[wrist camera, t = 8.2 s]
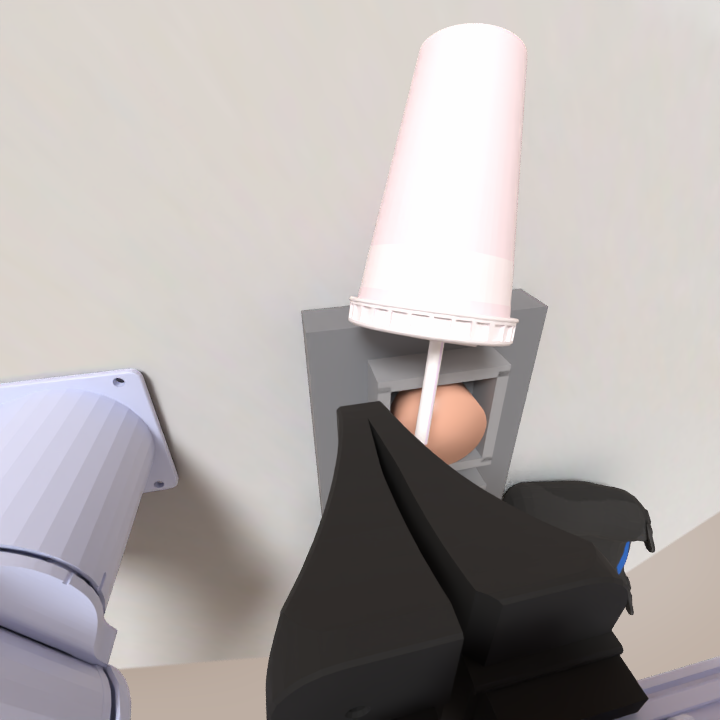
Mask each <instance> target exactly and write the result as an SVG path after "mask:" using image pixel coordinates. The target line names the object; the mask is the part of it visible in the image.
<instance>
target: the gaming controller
mask: <svg viewBox="0 0 720 720" xmlns="http://www.w3.org/2000/svg"><path fill="white" fill-rule="evenodd" d="M503 501H504V502H506V503H508V504H510V505H511V506H513V507H515V508H517V509H519V510H521V511H523V512H525V513H527V514H529V515H531V516H533V517H535V518H537V519H539V520H541V521H543V522H545V523H547V524H550V525H552V526H554V527H557V528H559V529H561V530H564V531H566V532H569V533H571V534H573V535H576V536H578V537H580V538H583V539H585V540H588V541H590V542H592V543H593V544H594V545H595V546H596V547H597V548H598V550H599V551H600V552H601V553H602V554H603V555H604V556H605V557H606V558H607V560H608V561H609V562H610V564H611V565H612V566H613V567H614V569H615V570H616V571H617V573H618V574H619V575H620V577H621V578H622V579H623V581H624V582H625V583H626V584H627V586H628V591H629V597H628V601H627V603H626V606H625V607H626V610H627V612H628V613H629V614H630V615H633V613H634V611H633V606H632V595H631V593H630V589H631V586H630V581H629V579H628V577H627V576H626V574H625V572H624V564H625V562H626V560H627V556H628V553H629V549H630V544H631V541H644V543H645V546H646V549H647V550H648V551H649V552H652V553H653V552H655V545H654V541H653V537H652V534H653V531H652V528H651V525H650V524H651V520H650V517H649V514H648V511H647V510H646V509H645V508H644V507H643V506H642V504H641V503H640V502H639V501H638V500H637V499H636V498H635V497H634V496H633V495H631V494H630V493H628V492H627V491H625V490H622V489H619V488H615V487H609V486H603V485H598V484H594V483H590V482H582V481H559V482H529V483H519V484H516V485H514V486H513V487H511V488H509V490H508V491H507V493H506V494H505V496H504V498H503Z"/></svg>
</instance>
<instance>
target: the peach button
mask: <svg viewBox="0 0 720 720" xmlns="http://www.w3.org/2000/svg"><path fill="white" fill-rule="evenodd" d="M421 392H422V388H417V389H410V390H402V391H400V392H399V393H398V394H397V395H396V397H395V398H394V400H393V402H392V404H391V407H390V412H391V413H392V414H393V415H394V416H395V417H396V418H397V419H398V420H399V421H400V422H401V423H402V424H403V425H404V426H405V427H406V428H407V429H408V430H409V431H410V432H411V433H412V434H413V435H414V436H415V430H416V423H417V417H418V411H419V405H420V399H421ZM486 424H487V421H486V415H485V412H484V410H483V409H482V407H481V406H480V405H479V403H478V402H477V401H476V399H475V398H474V397H473V396H472V394H471V393H470V392H469V390H468V389H467V388H466V387H465V385H464V384H463V383H462V382H460V383H453V384H445V385H438V386H437V390H436V396H435V402H434V408H433V414H432V420H431V426H430V432H429V438H428V444H427V445H425V446H426V447H427V448H428V449H430V450H431V451H432V452H433V453H434V454H435V455H437V456H438V457H439V458H440V459H442V460H443V461H444V462H445V463H447V464H448V465H449V464H452V463H454V462H457V461H459V460H460V459H462V458H464V457H465V456H467V455H468V454H469V453H470V452H471V451H472V450H474V448H475V447H476V446H477V445H478V444H479V442H480V441H481V439H482V437H483V435H484V433H485V430H486Z"/></svg>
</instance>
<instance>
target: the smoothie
mask: <svg viewBox="0 0 720 720" xmlns="http://www.w3.org/2000/svg"><path fill="white" fill-rule="evenodd" d="M526 67H527V49H526V46H525V44H524V43H523V41H522V40H521V39H520V38H519V37H518V36H517V35H515V34H514V33H512V32H510V31H508V30H506V29H504V28H501V27H498V26H494V25H489V24H480V23H470V24H460V25H455V26H451V27H448V28H445V29H442V30H440V31H438V32H436V33H434V34H433V35H431V36H430V37H429V38H428V39H426V40H425V42H424V43H423V44H422V46H421V48H420V51H419V55H418V59H417V63H416V67H415V71H414V75H413V79H412V83H411V87H410V91H409V95H408V98H407V102H406V106H405V110H404V114H403V118H402V122H401V126H400V130H399V134H398V138H397V142H396V146H395V150H394V154H393V158H392V162H391V166H390V170H389V174H388V178H387V182H386V186H385V190H384V194H383V198H382V202H381V206H380V210H379V214H378V218H377V222H376V226H375V230H374V234H373V238H372V242H371V246H370V249H369V253H368V257H367V261H366V266H365V270H364V274H363V279H362V283H361V287H360V290H359V294H358V297H353V296H351V297H350V298H349V300H351V302H350V310H349V318H348V320H349V321H350V322H351V323H352V324H355V325H358V326H361V327H364V328H368V329H373V330H377V331H382V332H387V333H392V334H398V335H403V336H409V337H414V338H419V339H426V340H430V343H429V349H428V355H427V361H426V367H425V374H424V380H423V386H422V392H421V399H420V405H419V411H418V417H417V423H416V430H415V437H416V438H417V439H419V440H420V441H421V442H422V443H423V444H424V445H427V444H428V438H429V432H430V426H431V420H432V414H433V408H434V402H435V396H436V390H437V384H438V378H439V372H440V366H441V360H442V354H443V348H444V343H451V344H458V345H465V346H472V347H477V345H480V346H509V345H511V344H512V343H513V338H514V333H515V328H516V323H518V322H519V320H518V319H516V318H510V313H511V296H512V284H513V271H514V252H515V236H516V221H517V206H518V190H519V175H520V159H521V144H522V129H523V113H524V98H525V82H526Z"/></svg>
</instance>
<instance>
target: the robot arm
mask: <svg viewBox="0 0 720 720" xmlns="http://www.w3.org/2000/svg"><path fill="white" fill-rule="evenodd" d="M115 378H121V379H123V380H124V381H125V382H123V383H121V382H118V381H117V380H116V379H115ZM336 413H337V430H338V451H337V459H336V464H335V469H334V475H333V480H332V484H331V488H330V492H329V496H328V499H327V503H326V506H325V509H324V512H323V515H322V518H321V521H320V524H319V527H318V530H317V533H316V536H315V538H314V541H313V543H312V546H311V548H310V550H309V553H308V555H307V557H306V560H305V562H304V565H303V567H302V569H301V571H300V574H299V576H298V578H297V580H296V582H295V584H294V586H293V588H292V590H291V592H290V594H289V596H288V598H287V600H286V602H285V604H284V606H283V608H282V610H281V612H280V617H279V621H278V624H277V628H276V632H275V636H274V640H273V644H272V648H271V652H270V657H269V663H268V669H267V676H266V711H267V720H720V656H718V657H715V658H712V659H708V660H705V661H701V662H698V663H695V664H691V665H688V666H684V667H681V668H678V669H674V670H671V671H668V672H664V673H662V674H658V675H654V676H651V677H648V678H644V679H641V680H638V681H637V680H636V679H635V678H634V676H633V675H632V673H631V671H630V670H629V669H628V667H627V666H626V664H625V663H624V661H623V660H622V658H621V657H620V654H622V653H623V648H622V645H621V643H620V642H619V641H618V639H617V638H616V636H615V635H614V633H613V632H612V628H613V627H614V625H615V623H616V621H617V620H618V618H619V616H620V615H621V613H622V611H623V610H624V608H625V606H626V603H627V601H628V597H629V591H628V586H627V584H626V583H625V582H624V581H623V579H622V578H621V577H620V575H619V574H618V573H617V571H616V570H615V569H614V567H613V566H612V565H611V564H610V562H609V561H608V560H607V558H606V557H605V556H604V555H603V554H602V553H601V552H600V551H599V550H598V548H597V547H596V546H595V545H594V544H593V543H592V542H590V541H588V540H585V539H583V538H580V537H578V536H576V535H573V534H571V533H569V532H566V531H564V530H561V529H559V528H557V527H554V526H552V525H550V524H547V523H545V522H543V521H541V520H539V519H537V518H535V517H533V516H531V515H529V514H527V513H525V512H523V511H521V510H519V509H517V508H515V507H513V506H511V505H510V504H508V503H506V502H504V501H503V500H501V499H499V498H497V497H496V496H494V495H492V494H491V493H489V492H487V491H485V490H484V489H482V488H481V487H479V486H477V485H476V484H474V483H473V482H471V481H470V480H468V479H467V478H466V477H464V476H463V475H461V474H460V473H458V472H457V471H456V470H454V469H453V468H452V467H450V466H449V465H448V464H447V463H445V462H444V461H443V460H442V459H440V458H439V457H438V456H437V455H435V454H434V453H433V452H432V451H431V450H430V449H428V448H427V447H426V446H425V445H424V444H423V443H422V442H421V441H420V440H419V439H417V438H416V437H415V436H414V435H413V434H412V433H411V432H410V431H409V430H408V429H407V428H406V427H405V426H404V425H403V424H402V423H401V422H400V421H399V420H398V419H397V418H396V417H395V416H394V415H393V414H392V413H391V412H390V411H389V410H388V408H387V407H386V406H385V405H384V404H383V403H382V402H380V401H375V402H368V403H361V404H354V405H347V406H340V407H339V408H338V409H337V410H336ZM178 480H179V477H178V474H177V471H176V469H175V466H174V463H173V460H172V457H171V454H170V451H169V449H168V446H167V443H166V440H165V437H164V434H163V432H162V429H161V426H160V423H159V420H158V417H157V415H156V412H155V409H154V406H153V403H152V400H151V398H150V395H149V392H148V389H147V386H146V383H145V380H144V378H143V375H142V374H141V372H139V371H138V370H135V369H121V370H113V371H104V372H96V373H87V374H78V375H70V376H61V377H52V378H44V379H35V380H27V381H18V382H9V383H1V384H0V720H131V698H130V692H129V687H128V685H127V682H126V679H125V678H124V676H123V675H122V674H121V672H120V671H119V670H118V669H117V668H115V667H113V666H112V665H109V664H108V662H109V659H110V655H111V652H112V648H113V644H114V641H115V637H116V634H117V630H116V629H115V628H114V627H112V626H110V625H109V624H108V623H107V622H106V620H105V619H104V613H105V610H106V607H107V604H108V601H109V598H110V595H111V592H112V588H113V585H114V582H115V579H116V576H117V573H118V570H119V566H120V563H121V560H122V557H123V554H124V551H125V548H126V544H127V541H128V538H129V535H130V532H131V529H132V525H133V522H134V519H135V516H136V513H137V510H138V507H139V503H140V500H141V497H142V494H143V493H146V492H152V491H158V490H164V489H170V488H174V487H175V486H177V484H178ZM157 481H161V482H162V483H159V482H157Z"/></svg>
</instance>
